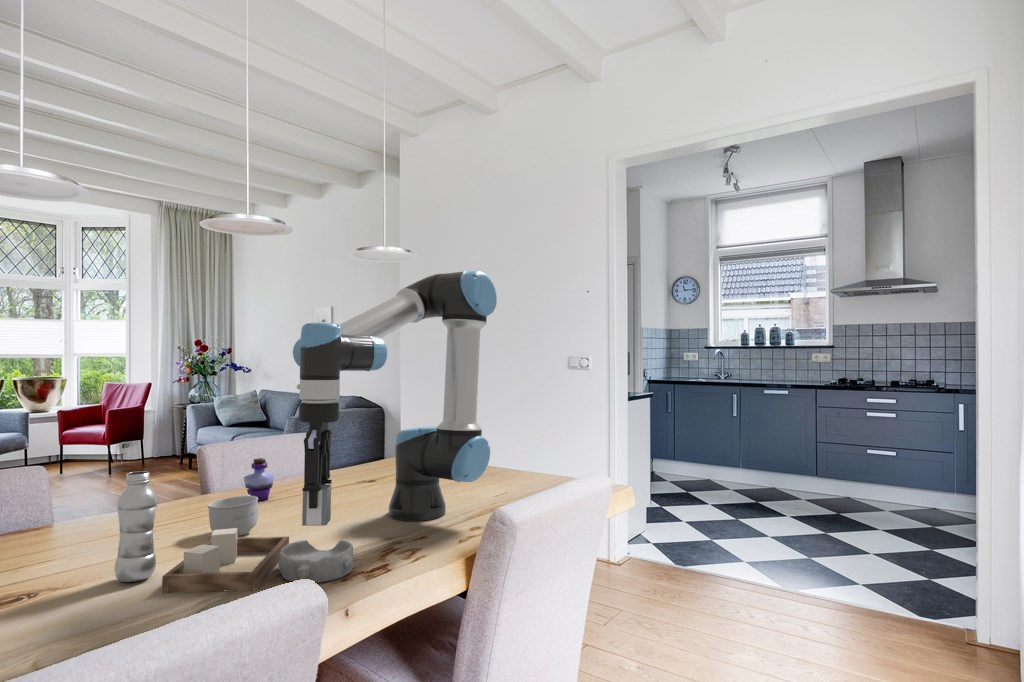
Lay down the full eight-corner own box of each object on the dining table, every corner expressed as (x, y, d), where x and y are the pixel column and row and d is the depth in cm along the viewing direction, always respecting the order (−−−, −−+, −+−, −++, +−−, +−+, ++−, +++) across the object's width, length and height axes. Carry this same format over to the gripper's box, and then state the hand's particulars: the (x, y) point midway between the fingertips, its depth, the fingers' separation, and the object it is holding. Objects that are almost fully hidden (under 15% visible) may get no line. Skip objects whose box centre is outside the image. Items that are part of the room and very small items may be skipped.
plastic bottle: (126, 574, 114) (128, 470, 115) (162, 573, 115) (165, 469, 115) (106, 587, 108) (108, 476, 108) (145, 586, 108) (147, 476, 109)
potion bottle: (280, 497, 177) (281, 456, 177) (264, 504, 168) (265, 461, 169) (253, 495, 178) (254, 455, 178) (236, 502, 170) (237, 460, 170)
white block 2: (236, 556, 125) (237, 527, 125) (235, 562, 121) (235, 533, 121) (213, 559, 123) (213, 529, 123) (210, 565, 119) (211, 535, 119)
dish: (278, 565, 120) (278, 541, 120) (349, 557, 125) (349, 533, 125) (278, 592, 106) (279, 564, 106) (357, 582, 111) (358, 555, 112)
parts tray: (288, 550, 129) (289, 536, 129) (255, 590, 107) (255, 573, 107) (212, 552, 127) (212, 538, 127) (162, 593, 105) (162, 576, 105)
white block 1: (219, 577, 113) (219, 546, 113) (201, 586, 108) (201, 553, 108) (201, 575, 114) (202, 544, 114) (183, 584, 109) (183, 551, 109)
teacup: (238, 542, 134) (238, 506, 134) (196, 539, 136) (197, 504, 136) (274, 525, 148) (275, 493, 148) (236, 522, 150) (236, 490, 150)
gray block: (330, 519, 118) (331, 484, 118) (326, 525, 114) (327, 488, 114) (307, 520, 117) (308, 484, 118) (302, 525, 113) (303, 489, 114)
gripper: (310, 398, 124) (307, 510, 124) (287, 404, 108) (284, 534, 107) (346, 398, 125) (344, 509, 124) (329, 404, 108) (327, 533, 108)
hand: (316, 520), depth 116 cm, fingers closed on gray block, 4 cm apart
